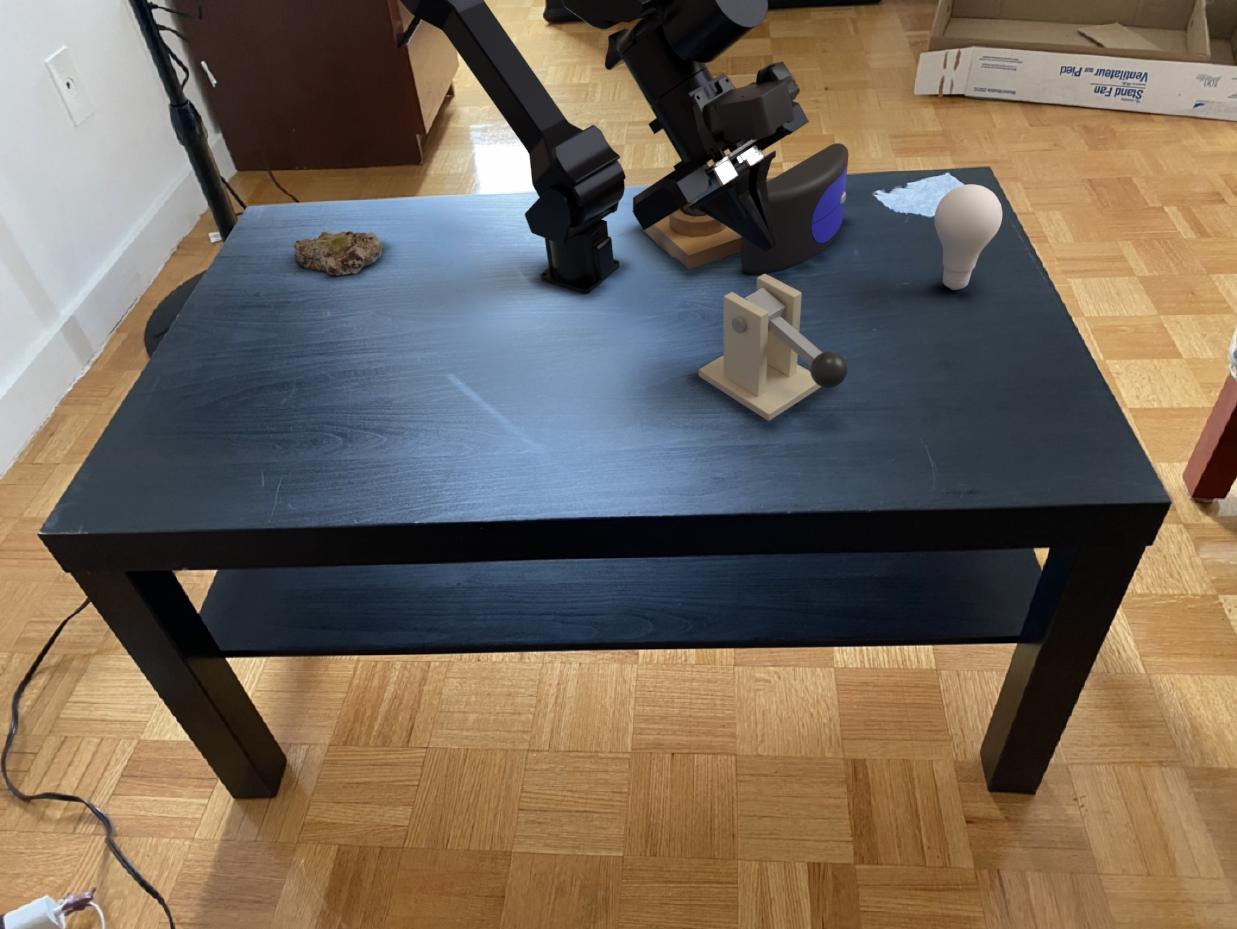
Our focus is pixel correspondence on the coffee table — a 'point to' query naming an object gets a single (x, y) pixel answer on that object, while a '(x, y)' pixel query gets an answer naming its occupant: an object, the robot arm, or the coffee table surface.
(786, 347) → the switch bracket
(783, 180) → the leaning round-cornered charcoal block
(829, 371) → the switch lever
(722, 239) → the button block
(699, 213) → the button
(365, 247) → the mineral rock
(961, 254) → the lightbulb
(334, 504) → the coffee table surface
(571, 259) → the robot arm
